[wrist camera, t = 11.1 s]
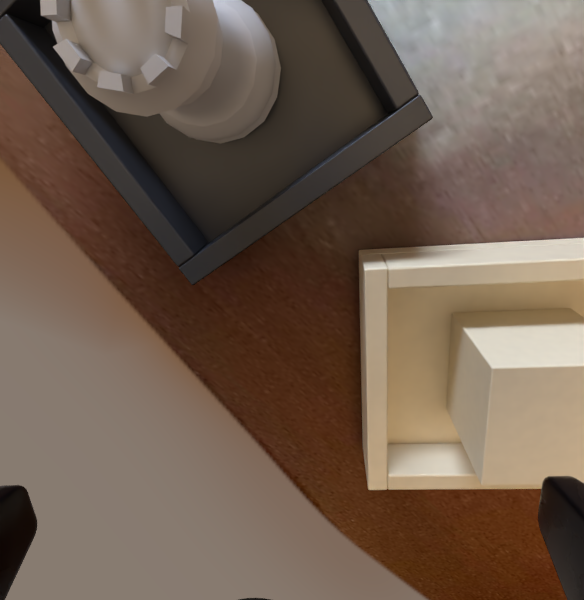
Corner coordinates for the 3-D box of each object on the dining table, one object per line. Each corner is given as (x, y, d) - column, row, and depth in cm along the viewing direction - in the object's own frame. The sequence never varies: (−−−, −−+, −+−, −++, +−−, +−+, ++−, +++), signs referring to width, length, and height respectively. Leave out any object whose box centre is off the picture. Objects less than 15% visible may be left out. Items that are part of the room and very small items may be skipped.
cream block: (446, 408, 19) (480, 486, 15) (451, 312, 17) (492, 367, 13) (555, 406, 19) (622, 485, 14) (570, 307, 17) (651, 363, 13)
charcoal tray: (415, 121, 16) (433, 117, 13) (211, 264, 18) (192, 285, 16) (238, -188, 13) (217, -269, 11) (27, 26, 16) (-33, 4, 13)
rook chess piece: (128, 38, 15) (-71, -62, 7) (245, -31, 14) (153, -226, 6) (192, 164, 16) (79, 187, 9) (303, 108, 15) (283, 79, 8)
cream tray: (362, 446, 21) (367, 491, 18) (358, 249, 18) (364, 268, 15) (621, 442, 20) (666, 489, 17) (667, 232, 17) (732, 250, 14)
